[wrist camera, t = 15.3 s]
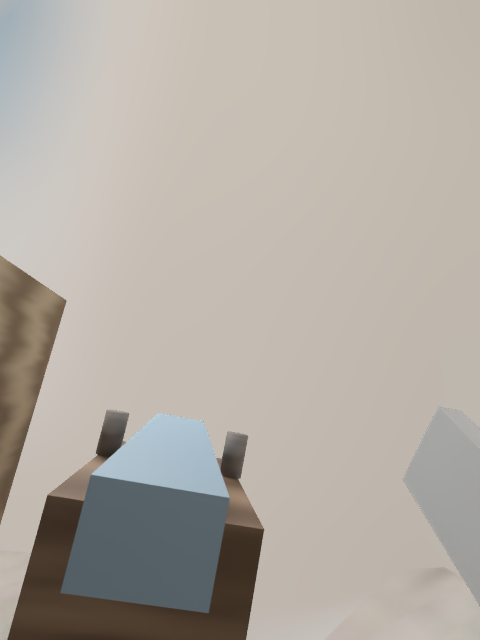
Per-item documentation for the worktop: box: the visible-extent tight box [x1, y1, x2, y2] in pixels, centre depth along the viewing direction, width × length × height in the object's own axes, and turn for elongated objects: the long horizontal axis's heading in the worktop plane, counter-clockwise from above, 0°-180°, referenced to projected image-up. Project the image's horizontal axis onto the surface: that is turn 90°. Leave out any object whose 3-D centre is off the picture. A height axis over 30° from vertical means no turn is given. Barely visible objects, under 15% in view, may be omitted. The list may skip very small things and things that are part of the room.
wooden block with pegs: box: [8, 410, 264, 640], centre depth 23 cm, size 16×11×22 cm, turn 8°
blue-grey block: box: [60, 413, 230, 613], centre depth 21 cm, size 22×4×3 cm, turn 8°
